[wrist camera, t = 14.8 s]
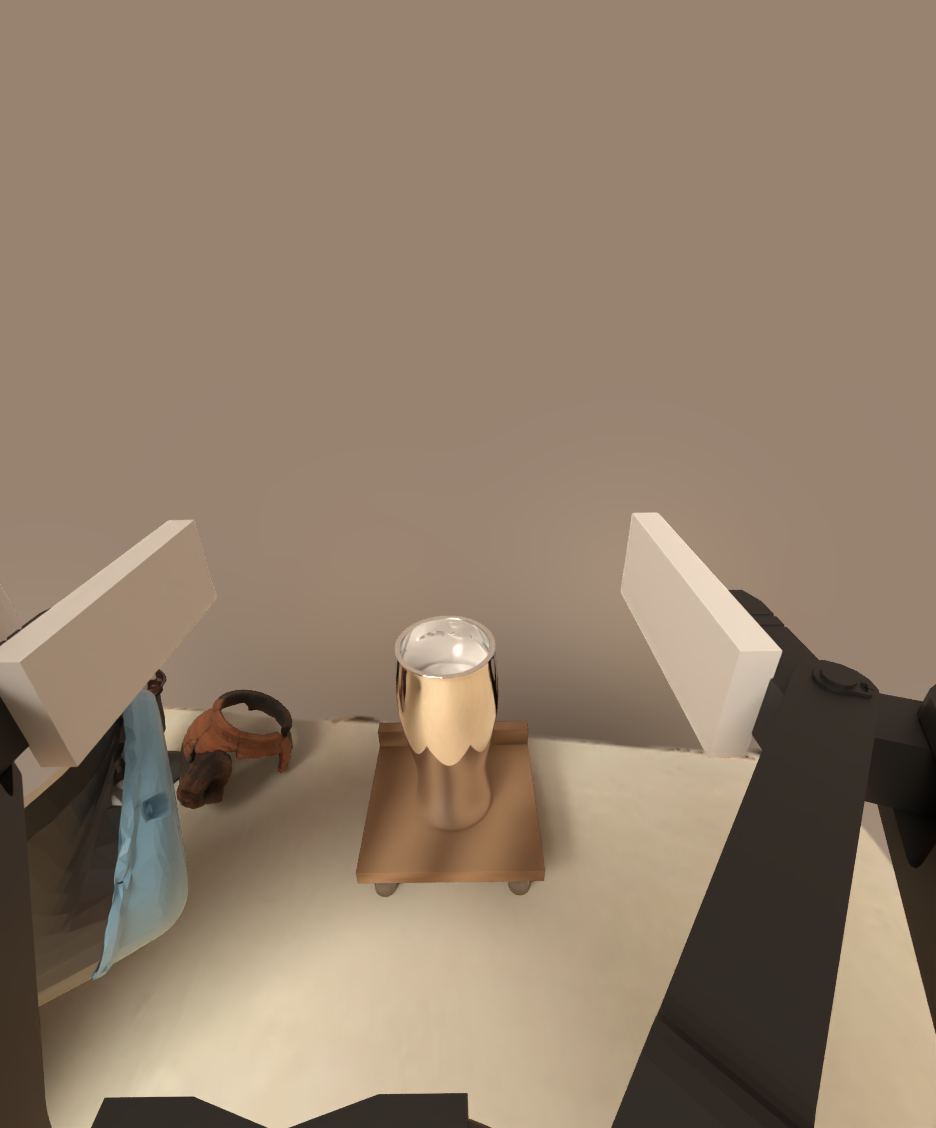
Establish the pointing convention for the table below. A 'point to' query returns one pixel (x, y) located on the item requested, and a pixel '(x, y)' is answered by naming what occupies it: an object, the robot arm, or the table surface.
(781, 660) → the robot arm
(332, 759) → the table surface
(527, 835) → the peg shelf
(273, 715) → the broken clay pot
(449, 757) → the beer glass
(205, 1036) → the table surface
